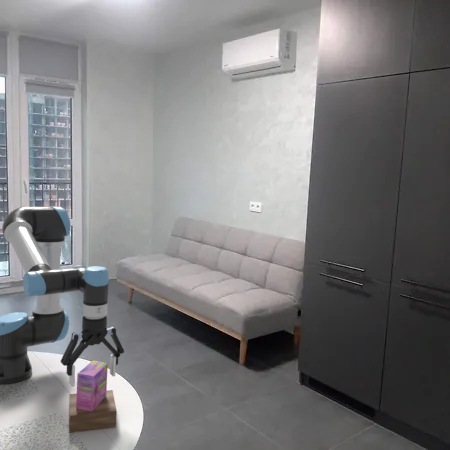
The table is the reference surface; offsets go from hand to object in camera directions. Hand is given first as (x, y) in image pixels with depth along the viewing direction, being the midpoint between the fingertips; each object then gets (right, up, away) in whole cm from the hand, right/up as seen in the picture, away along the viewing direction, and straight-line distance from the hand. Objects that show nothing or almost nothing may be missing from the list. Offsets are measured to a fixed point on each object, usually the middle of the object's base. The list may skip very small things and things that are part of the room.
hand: (92, 379), depth 147 cm
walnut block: (-1, -14, +1) cm, 14 cm away
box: (0, -8, 0) cm, 8 cm away
